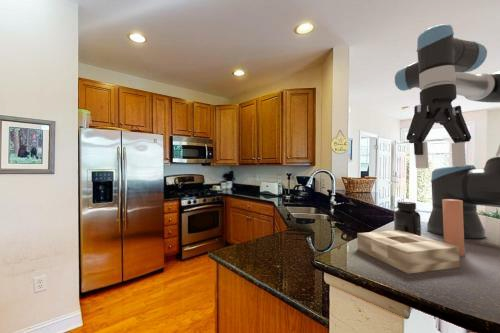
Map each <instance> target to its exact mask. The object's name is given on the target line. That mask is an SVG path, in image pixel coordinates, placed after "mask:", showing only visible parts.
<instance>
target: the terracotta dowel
mask: <svg viewBox="0 0 500 333" xmlns="http://www.w3.org/2000/svg"><path fill="white" fill-rule="evenodd" d="M442 203H443V230H444V235H443V243H446V244H450V245H454V246H457V247H459V257H464V256H466V255H465V253H466V252H465V238H464V225H463V201H462V200H453V199H443V200H442Z"/></svg>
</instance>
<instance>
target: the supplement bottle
mask: <svg viewBox="0 0 500 333" xmlns="http://www.w3.org/2000/svg"><path fill="white" fill-rule="evenodd" d="M416 209H417V204H416V202H411V201H409V202H408V201H397V206H396V210H395V211H394V212H393V220H394V221H393V225H394V227H393V228H394V230H401V231H404V232H408V233H411V234H415V235H418V236H422V230H421V229H422V228H421V225H422V224H421V214H420V213H419V212H418V211H416ZM394 230H393V231H394Z"/></svg>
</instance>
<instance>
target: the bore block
mask: <svg viewBox="0 0 500 333" xmlns="http://www.w3.org/2000/svg"><path fill="white" fill-rule="evenodd" d="M356 235H357V236H356V238H357V240H356V241H357V250H358V251H360V252H362V253H364V254H366V255H369V256H371V257H372V258H374V259H377V260H379V261H381V262H383V263H385V264H387V265H390V266H391V267H394V268H396V269H398V270H400V271H402V272H404V273H406V274H408V275H409V274H416V273H425V272H433V271H439V270H448V269H459V268H460V267H461V265H460V264H461V263H460V262H461V260H460V256H459V247H457V246H454V245H450V244H446V243H444V241H440V240H435V239H431V238H429V237H426V236H422V235H421V236H418V235H415V234H411V233H408V232H404V231H401V230H384V231H383V230H381V231H369V232H357V233H356Z"/></svg>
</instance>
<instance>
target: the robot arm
mask: <svg viewBox="0 0 500 333" xmlns="http://www.w3.org/2000/svg"><path fill="white" fill-rule="evenodd" d="M454 35H455V32H454V29H453V26H452V25H451V24H448V23H443V24H437V25H434V26H432V27H429V28H427V29H425V30H423V32H421V33H420V34H419V35H418V37H417V40H416V41H417V44H416V52H417V53H416V54H417V61H416V62H413V63H411V64H409V65H406V66H405V67H403V68H401V69H399V70H397V72H396V73H395V75H394V85H395V86H396V88H397V89H398V90H400V91H403V92H404V91H408V90H412V89H415V88H417V89H419V90H420V92H419V104H416V105H415V106H414V108H413V109H414V114H413V117H412V120H411V122H410V126H409V127H408V128H409V129H408V131H407V135H406V138H405V139H406V140H407V141H408V143H409V144H413V153H414V157H415V169H428V168H429V149H428V141H425V140H426V139H427V137H428V135H429V133H430V132H431V130H432V129H433V127H434V124H439V125H440V126H443V127H444V129H445V130H446V132H447V134H448V136H449V137H450V138H451V140H452V142H453V143H451V159H452V161H451V162H452V166H451V165H450V166H444V167H438V168H435V169H433V170H432V172H431V179H430V183H431V201H432V202H431V203H432V208H431V209H432V210H431V213H430V216H429V217H428V221H427V222H426V223H427V224H426V225H427V226H426V229H427V231H429V232H430V233H434V234H437V235H441V236H444V230H443V203H442V200H443V199H453V200H462V201H463V225H464V239H483V238H485V237H486V229H485V228H484V225H483V223H482V220H481V219H480V216H479V214H478V210H477V206H483V207H484V206H485V207H493V208H500V144H499V145H498V148H497V151H496V153H495V156H492V157H491V158H489V159H487V160H486V162H485V165H484V168H476V167H475V165H474V164H467V159H466V143H467V142H469V143H470V141H471V140H472V136H471V133H470V130H469V128H468V126H467V123H466V120H465V118H464V116H463V112H462V105H455V106H453V105H452V102H453V101H454V100H456V99H457V96H462V97H464V98H465V99H467V100H468V101H473V102H481V103H491V104H492V103H493V104H494V103H498V104H499V103H500V71H497V72H494V73H478V74H473V73H470V72H473V71H474V70H477V69H478V68H480V66H482V65H483V63H484V62H485V60H486V59H487V56H488V49H487V48H486V46H485V45H483V44H482V43H478V42H477V41H473V40H472V41H470V40H465V39H460V38H458V37H454Z"/></svg>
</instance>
